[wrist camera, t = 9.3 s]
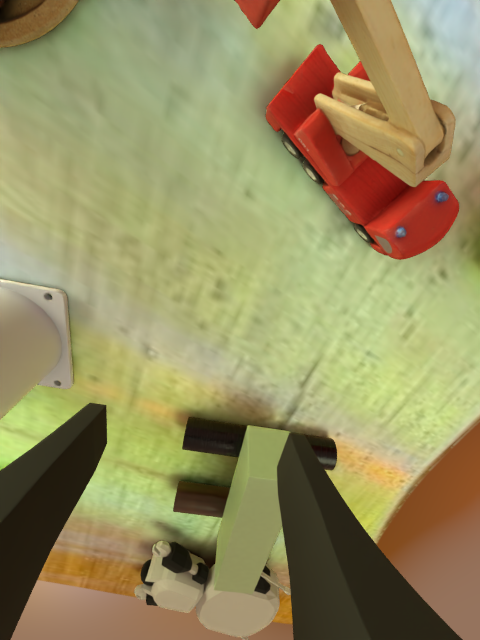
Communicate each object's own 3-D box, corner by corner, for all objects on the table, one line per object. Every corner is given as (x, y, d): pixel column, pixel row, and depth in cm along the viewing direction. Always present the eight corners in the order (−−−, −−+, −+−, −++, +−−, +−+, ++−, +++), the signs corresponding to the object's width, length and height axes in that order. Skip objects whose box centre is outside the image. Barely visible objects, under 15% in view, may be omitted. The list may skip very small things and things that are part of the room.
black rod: (186, 431, 24) (181, 456, 22) (189, 410, 23) (184, 433, 21) (322, 451, 25) (330, 477, 23) (331, 432, 24) (340, 456, 21)
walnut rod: (177, 491, 27) (172, 517, 25) (180, 474, 26) (174, 500, 24) (297, 506, 28) (302, 533, 26) (304, 491, 27) (309, 518, 25)
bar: (251, 538, 26) (252, 594, 23) (217, 534, 26) (213, 590, 22) (290, 431, 20) (301, 483, 17) (247, 424, 20) (248, 476, 17)
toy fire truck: (374, 256, 17) (509, 327, 9) (208, 55, 13) (141, -195, 5) (423, 215, 16) (633, 247, 8) (258, -16, 12) (296, -520, 4)
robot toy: (140, 565, 35) (253, 599, 36) (123, 615, 31) (251, 651, 32) (163, 509, 30) (294, 549, 31) (147, 559, 26) (298, 604, 27)
